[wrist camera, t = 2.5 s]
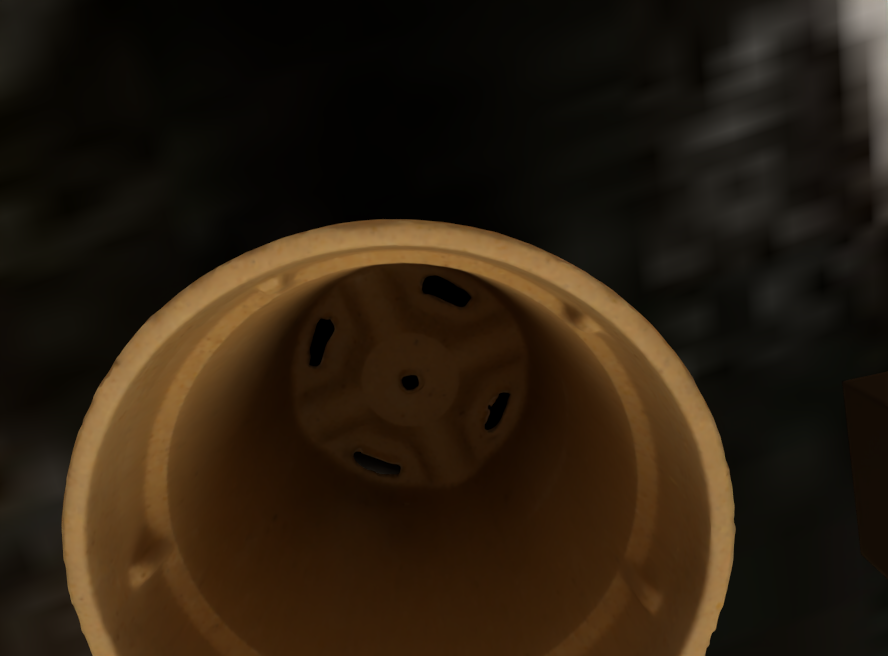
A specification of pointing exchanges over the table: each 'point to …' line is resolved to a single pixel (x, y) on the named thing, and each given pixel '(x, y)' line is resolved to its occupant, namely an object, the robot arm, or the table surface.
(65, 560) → the flower pot
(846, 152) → the table surface
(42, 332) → the table surface
